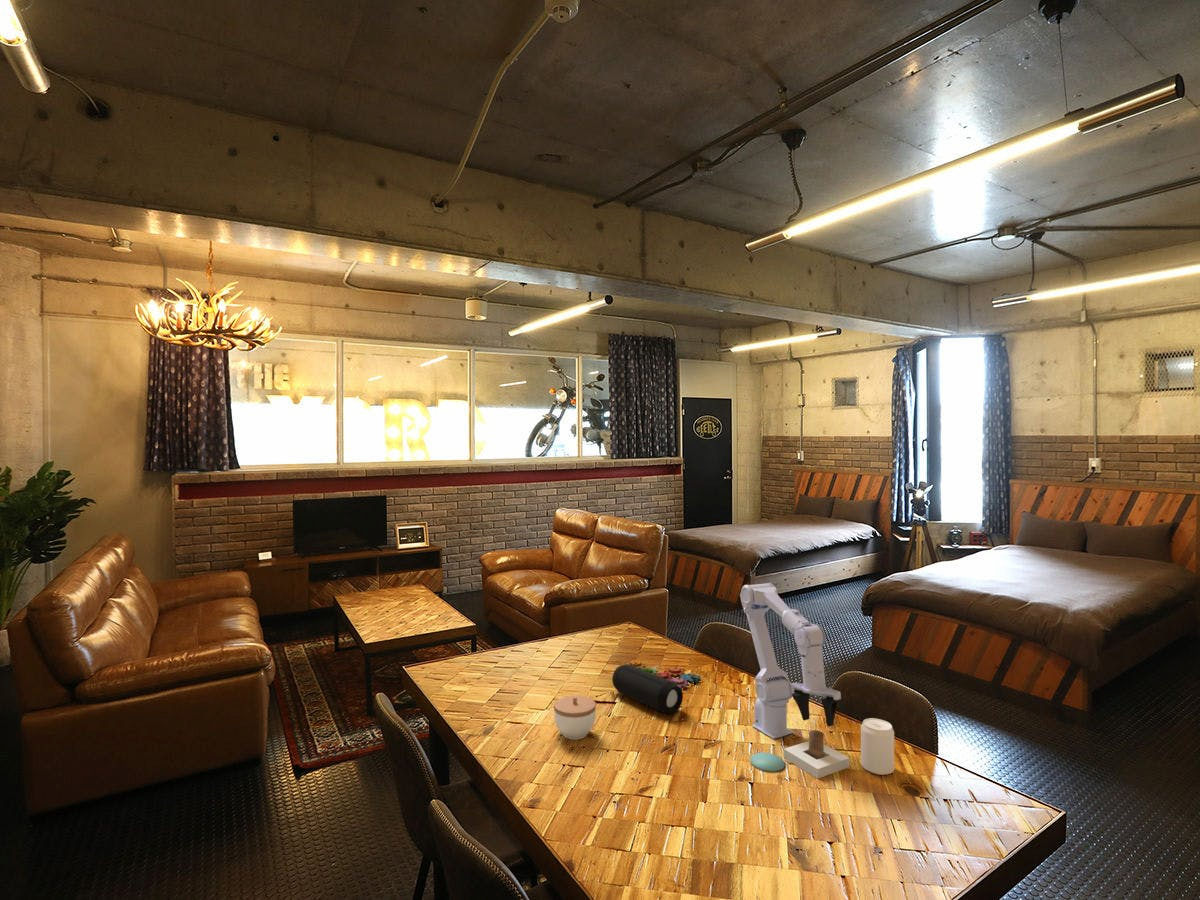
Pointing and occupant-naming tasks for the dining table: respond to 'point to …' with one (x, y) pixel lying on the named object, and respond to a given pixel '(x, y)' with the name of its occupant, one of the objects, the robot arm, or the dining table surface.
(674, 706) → the portable speaker
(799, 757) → the block
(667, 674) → the gear puzzle
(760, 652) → the robot arm
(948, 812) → the dining table surface
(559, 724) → the lidded bowl
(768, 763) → the teal pad
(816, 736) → the walnut dowel
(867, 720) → the beverage can
